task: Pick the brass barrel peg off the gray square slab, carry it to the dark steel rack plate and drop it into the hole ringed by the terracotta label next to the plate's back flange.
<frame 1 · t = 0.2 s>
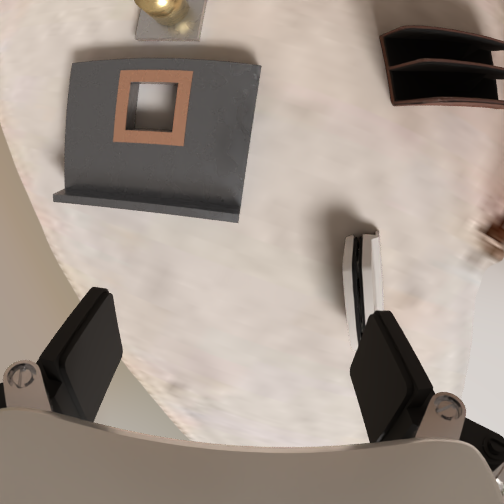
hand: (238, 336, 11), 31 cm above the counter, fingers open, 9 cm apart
letter holder: (444, 72, 32), on the counter
gray square slab: (173, 13, 30), on the counter
barrel peg: (170, 10, 29), point 1 cm above the counter, touching gray square slab
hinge: (358, 283, 46), on the counter
rack plate: (155, 129, 36), on the counter
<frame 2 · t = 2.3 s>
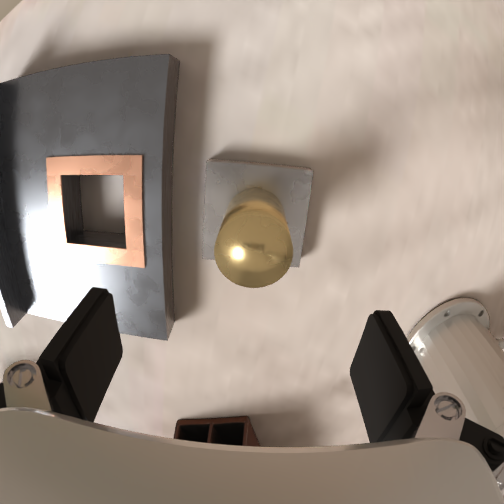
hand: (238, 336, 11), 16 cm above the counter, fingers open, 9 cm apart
letter holder: (230, 450, 41), on the counter
gray square slab: (255, 211, 26), on the counter
barrel peg: (255, 216, 24), point 1 cm above the counter, touching gray square slab
rack plate: (80, 199, 26), on the counter
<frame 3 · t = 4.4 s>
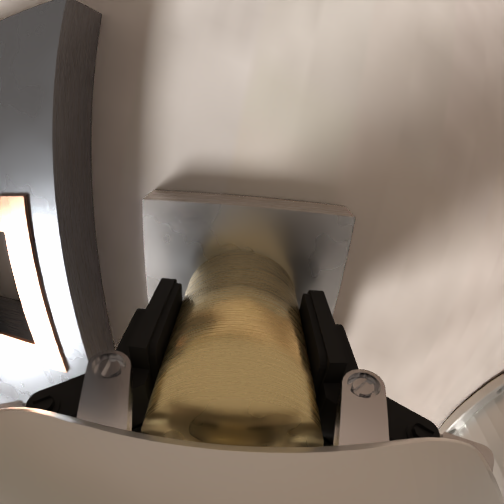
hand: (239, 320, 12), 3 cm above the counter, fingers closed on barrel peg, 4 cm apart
gray square slab: (242, 282, 14), on the counter
barrel peg: (241, 300, 13), point 1 cm above the counter, touching gripper, gray square slab
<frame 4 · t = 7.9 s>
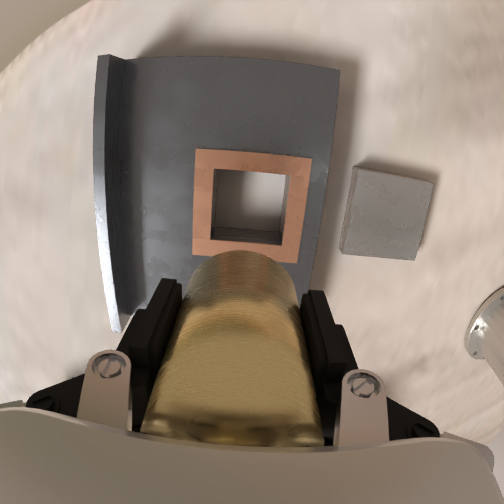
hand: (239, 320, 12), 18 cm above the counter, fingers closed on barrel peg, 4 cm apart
gray square slab: (384, 213, 28), on the counter
barrel peg: (241, 300, 13), point 17 cm above the counter, touching gripper
rack plate: (216, 195, 28), on the counter
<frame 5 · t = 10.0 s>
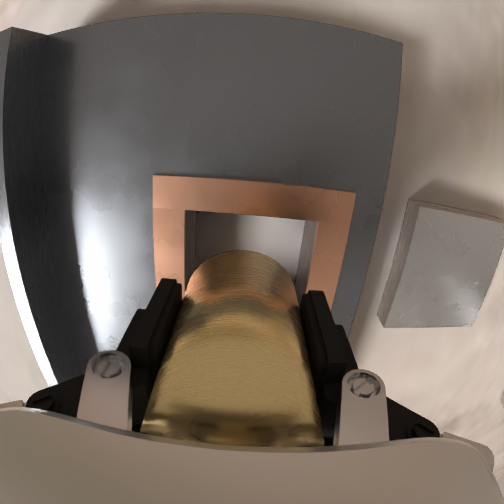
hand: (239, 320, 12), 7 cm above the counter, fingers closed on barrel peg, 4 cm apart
gray square slab: (442, 265, 18), on the counter
barrel peg: (241, 300, 13), point 6 cm above the counter, touching gripper
rack plate: (195, 244, 18), on the counter
when the fingers open (4 cm above the counter, at t = 11.6 s): barrel peg drops 3 cm, resting in rack plate.
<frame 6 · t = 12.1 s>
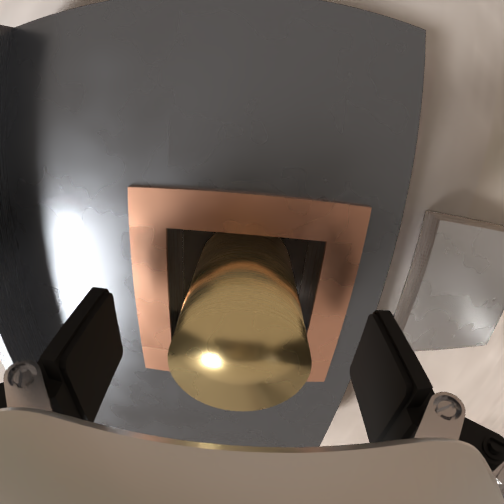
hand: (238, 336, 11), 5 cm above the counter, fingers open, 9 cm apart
gray square slab: (458, 282, 16), on the counter
barrel peg: (244, 267, 16), resting in rack plate
rack plate: (183, 262, 16), on the counter
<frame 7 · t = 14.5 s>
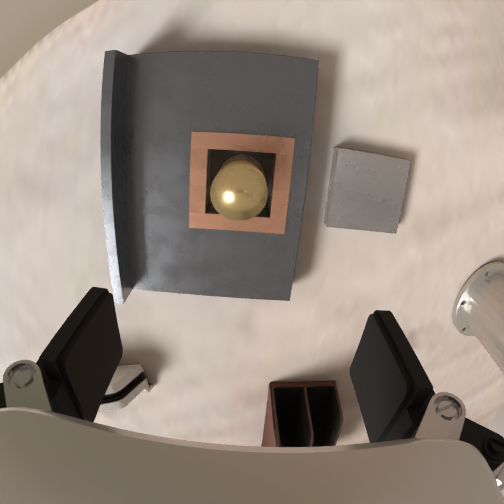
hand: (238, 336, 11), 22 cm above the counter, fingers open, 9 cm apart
letter holder: (294, 417, 47), on the counter
gray square slab: (365, 189, 31), on the counter
barrel peg: (241, 176, 31), resting in rack plate
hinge: (101, 371, 43), on the counter
rack plate: (210, 175, 31), on the counter
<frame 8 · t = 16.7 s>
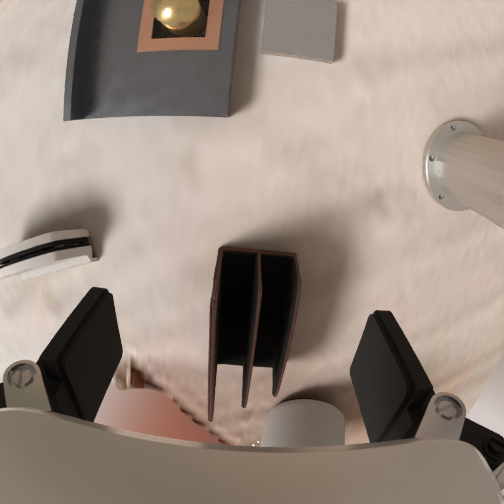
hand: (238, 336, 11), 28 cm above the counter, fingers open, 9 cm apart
letter holder: (250, 311, 45), on the counter
gray square slab: (299, 27, 29), on the counter
barrel peg: (187, 21, 29), resting in rack plate
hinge: (51, 247, 41), on the counter
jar: (293, 414, 55), on the counter
rack plate: (162, 22, 28), on the counter
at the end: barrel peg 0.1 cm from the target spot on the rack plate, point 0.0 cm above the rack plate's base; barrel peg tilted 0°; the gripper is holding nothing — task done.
